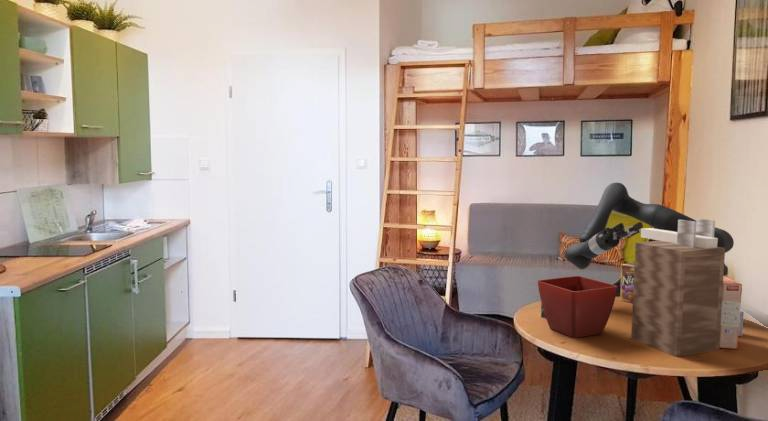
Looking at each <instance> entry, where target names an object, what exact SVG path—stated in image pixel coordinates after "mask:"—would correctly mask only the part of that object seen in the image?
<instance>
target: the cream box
mask: <svg viewBox="0 0 768 421" xmlns="http://www.w3.org/2000/svg"><path fill="white" fill-rule="evenodd" d="M677 233H678V232H674V231H667V230H661V229H657V228H654V227H648V228H647V227H646V228H641V229H640V238H644V239H649V240H655V241H665V242H671V243H677ZM717 242H718V238H713V237H706V236H700V235H696V238H695V247H700V248H705V249H709V248H717Z"/></svg>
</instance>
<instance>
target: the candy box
mask: <svg viewBox="0 0 768 421" xmlns="http://www.w3.org/2000/svg"><path fill="white" fill-rule="evenodd" d="M634 265H635V264H630V263H623V264H621V268H620V269H621V270H620V271H621V272H620V291H619V292H620V296H619V300H620V301H622V302H627V303H631V304H633V287H634Z"/></svg>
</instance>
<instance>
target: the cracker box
mask: <svg viewBox="0 0 768 421" xmlns="http://www.w3.org/2000/svg"><path fill="white" fill-rule="evenodd" d="M742 291H743V284H742V283H740V282H738V281H736V280H734V279H731V278H729V277H726V276H723V292H722V308H721V325H720V342H719V349H720V348H721V349H731V350H732V349H733V350H737V349H739V348H738V346H739V336H738V334H739V321H740V309H741V306H742V305H741V304H742Z"/></svg>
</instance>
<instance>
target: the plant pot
mask: <svg viewBox="0 0 768 421" xmlns="http://www.w3.org/2000/svg"><path fill="white" fill-rule="evenodd" d="M537 287H538V291H539V292H538V293H539V297H540V302H541V303H542V306H543V310H544V313H545V316H546V317H545V319H546V321H547V324H548V326H549V329H551V330H553V331H556V332H559V333H561V334H563V335H566V336H569V337H571V338H583V337H589V336H594V335H595V336H596V335H601V334H603V332H604V330H605V328H606V326H607V323H609V322H608V321H609V318H610V317H611V313H612V310H613V308H614V304H615V300H616V297H617V292H618V285H615V284H612V283H608V282H605V281H600V280H596V279H592V278H588V277H585V276H581V275H576V276H575V275H574V276H564V277H556V278H548V279H538V280H537ZM541 303H540V304H541Z"/></svg>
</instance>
